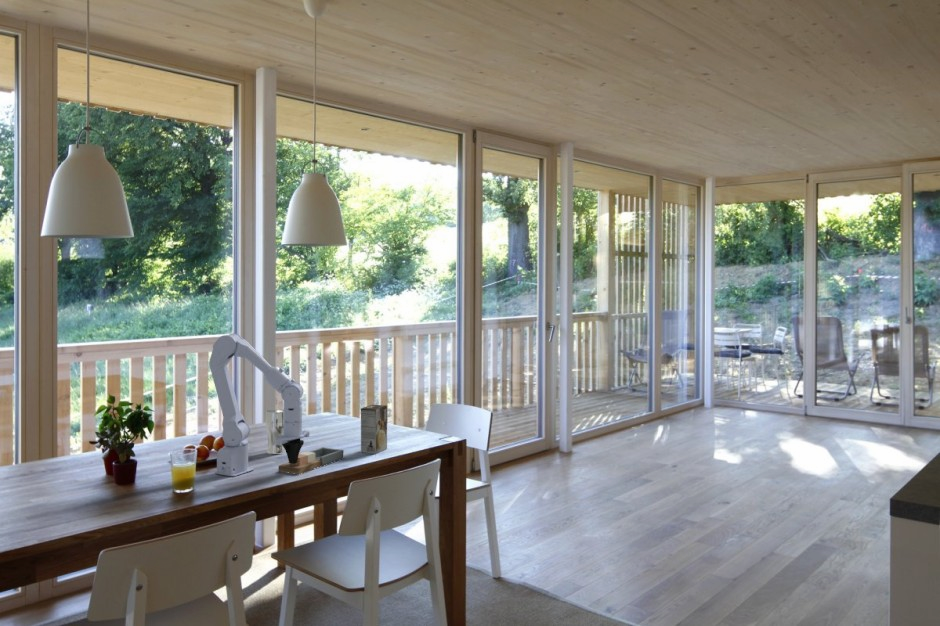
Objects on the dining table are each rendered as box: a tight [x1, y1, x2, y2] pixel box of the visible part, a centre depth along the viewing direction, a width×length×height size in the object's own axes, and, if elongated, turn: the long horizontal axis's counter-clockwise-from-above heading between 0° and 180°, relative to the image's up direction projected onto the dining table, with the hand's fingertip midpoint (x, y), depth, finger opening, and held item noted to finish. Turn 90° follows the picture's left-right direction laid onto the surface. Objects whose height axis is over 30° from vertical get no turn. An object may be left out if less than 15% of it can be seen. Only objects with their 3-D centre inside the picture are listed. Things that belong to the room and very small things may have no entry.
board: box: [278, 460, 323, 475], centre depth 240 cm, size 12×8×2 cm, turn 155°
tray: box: [309, 447, 344, 467], centre depth 251 cm, size 12×9×3 cm
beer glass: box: [265, 408, 286, 455], centre depth 261 cm, size 7×7×15 cm
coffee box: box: [360, 404, 388, 455], centre depth 266 cm, size 9×6×16 cm
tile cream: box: [299, 451, 315, 463], centre depth 242 cm, size 4×4×2 cm
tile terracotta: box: [290, 454, 308, 466], centre depth 239 cm, size 4×4×2 cm
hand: (292, 463), depth 236 cm, fingers closed
